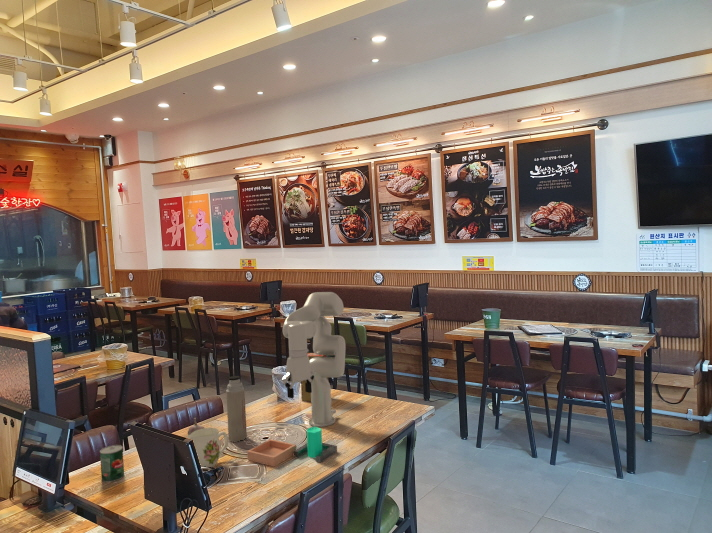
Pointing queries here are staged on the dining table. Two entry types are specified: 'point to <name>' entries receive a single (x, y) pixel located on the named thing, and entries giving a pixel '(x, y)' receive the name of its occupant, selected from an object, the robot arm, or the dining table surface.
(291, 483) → the dining table surface
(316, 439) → the candle
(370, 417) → the dining table surface
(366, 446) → the dining table surface
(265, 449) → the tray
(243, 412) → the thermos bottle
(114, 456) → the canned tomato
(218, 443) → the pitcher
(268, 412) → the dining table surface
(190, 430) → the garlic bulb
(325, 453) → the dock
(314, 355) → the food packaging
